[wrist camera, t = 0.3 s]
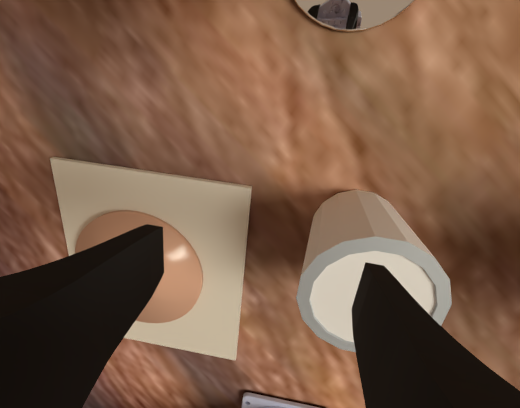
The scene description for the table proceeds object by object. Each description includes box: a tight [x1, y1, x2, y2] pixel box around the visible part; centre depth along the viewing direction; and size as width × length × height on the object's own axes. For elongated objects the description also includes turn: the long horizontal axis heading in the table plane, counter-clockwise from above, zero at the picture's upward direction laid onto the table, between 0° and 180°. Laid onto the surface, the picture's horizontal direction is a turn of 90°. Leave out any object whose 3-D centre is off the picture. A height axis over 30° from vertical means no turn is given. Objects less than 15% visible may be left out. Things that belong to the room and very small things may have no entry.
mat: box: [50, 157, 252, 360], centre depth 25 cm, size 16×14×1 cm
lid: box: [75, 210, 203, 323], centre depth 23 cm, size 10×10×4 cm
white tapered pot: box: [296, 190, 452, 352], centre depth 18 cm, size 7×7×7 cm
